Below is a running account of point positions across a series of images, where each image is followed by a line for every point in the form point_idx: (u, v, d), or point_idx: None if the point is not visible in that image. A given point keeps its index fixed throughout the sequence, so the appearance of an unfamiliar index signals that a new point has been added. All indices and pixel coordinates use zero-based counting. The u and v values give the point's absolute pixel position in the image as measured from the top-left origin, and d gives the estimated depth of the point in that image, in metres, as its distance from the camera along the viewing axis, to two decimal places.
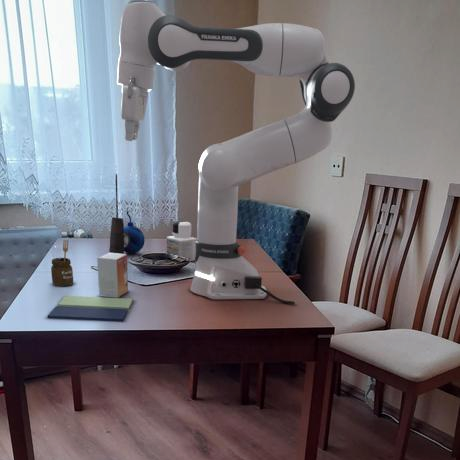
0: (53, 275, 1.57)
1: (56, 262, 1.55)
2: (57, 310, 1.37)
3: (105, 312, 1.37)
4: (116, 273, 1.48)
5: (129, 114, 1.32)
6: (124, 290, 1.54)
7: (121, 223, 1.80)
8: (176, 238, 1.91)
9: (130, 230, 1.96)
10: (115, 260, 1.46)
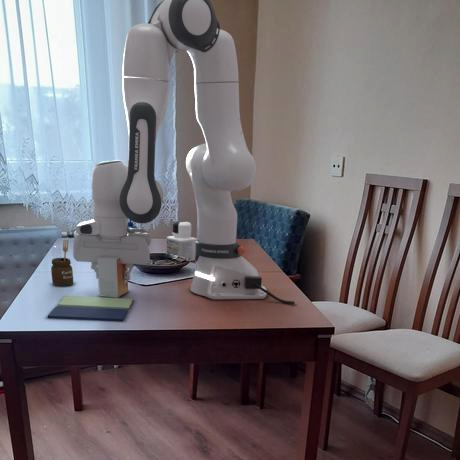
0: (53, 275, 1.57)
1: (56, 262, 1.55)
2: (57, 310, 1.37)
3: (105, 312, 1.37)
4: (116, 273, 1.48)
5: (149, 259, 1.50)
6: (124, 290, 1.54)
7: None
8: (176, 238, 1.91)
9: None
10: (115, 260, 1.46)
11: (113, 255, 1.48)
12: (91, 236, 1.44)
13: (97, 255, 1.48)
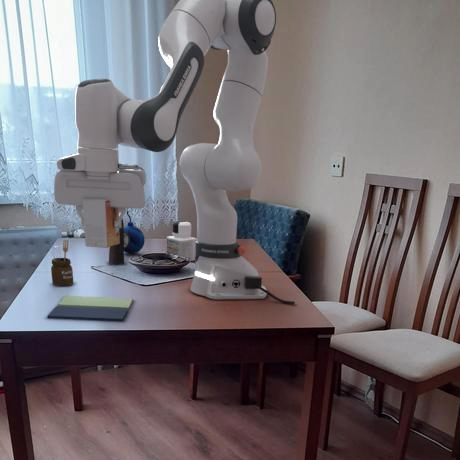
0: (53, 275, 1.57)
1: (56, 262, 1.55)
2: (57, 310, 1.37)
3: (105, 312, 1.37)
4: (105, 218, 1.25)
5: (144, 202, 1.28)
6: (115, 240, 1.32)
7: (121, 223, 1.80)
8: (176, 238, 1.91)
9: (130, 230, 1.96)
10: (103, 202, 1.23)
11: (101, 196, 1.25)
12: (75, 172, 1.22)
13: (83, 196, 1.25)
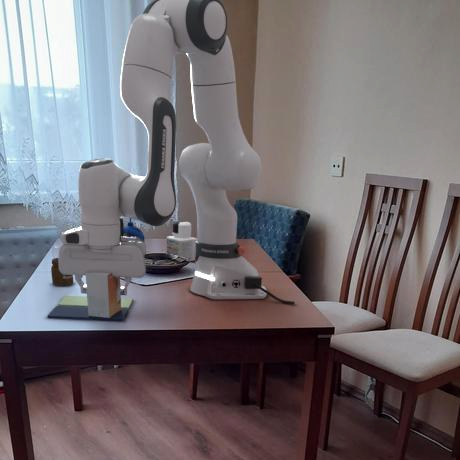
0: (53, 275, 1.57)
1: (56, 262, 1.55)
2: (57, 310, 1.37)
3: None
4: (107, 290, 1.30)
5: (145, 271, 1.33)
6: (116, 308, 1.37)
7: (121, 223, 1.80)
8: (176, 238, 1.91)
9: (130, 230, 1.96)
10: (106, 276, 1.29)
11: (104, 267, 1.30)
12: (78, 246, 1.27)
13: (86, 267, 1.30)
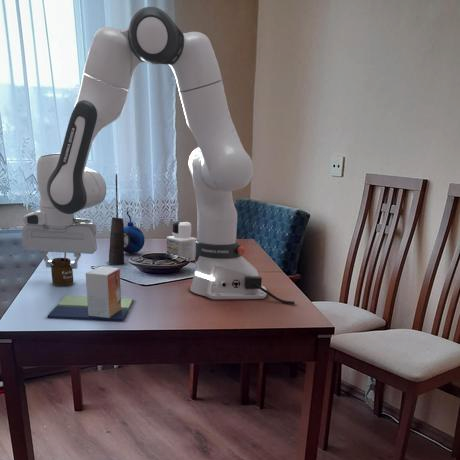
0: (53, 275, 1.57)
1: (56, 262, 1.55)
2: (57, 310, 1.37)
3: None
4: (107, 290, 1.30)
5: (96, 248, 1.57)
6: (116, 308, 1.37)
7: (121, 223, 1.80)
8: (176, 238, 1.91)
9: (130, 230, 1.96)
10: (106, 276, 1.29)
11: (60, 244, 1.54)
12: (38, 226, 1.51)
13: (45, 244, 1.54)
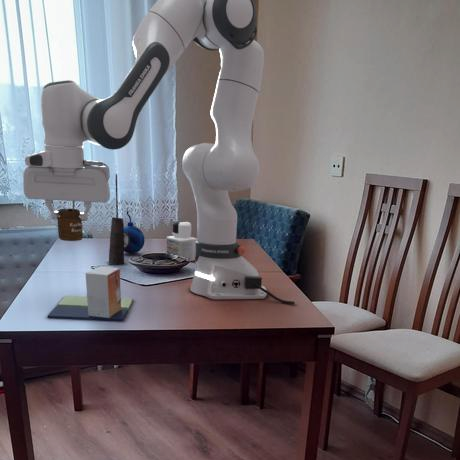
0: (60, 228, 1.36)
1: (63, 212, 1.34)
2: (57, 310, 1.37)
3: None
4: (107, 290, 1.30)
5: (109, 196, 1.36)
6: (116, 308, 1.37)
7: (121, 223, 1.80)
8: (176, 238, 1.91)
9: (130, 230, 1.96)
10: (106, 276, 1.29)
11: (68, 191, 1.33)
12: (42, 168, 1.30)
13: (50, 191, 1.33)
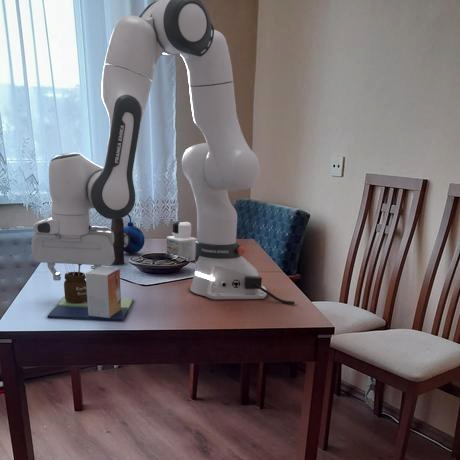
0: (66, 291, 1.41)
1: (70, 277, 1.39)
2: (57, 310, 1.37)
3: None
4: (107, 290, 1.30)
5: (114, 259, 1.41)
6: (116, 308, 1.37)
7: (121, 223, 1.80)
8: (176, 238, 1.91)
9: (130, 230, 1.96)
10: (106, 276, 1.29)
11: (74, 255, 1.38)
12: (50, 235, 1.35)
13: (57, 255, 1.38)
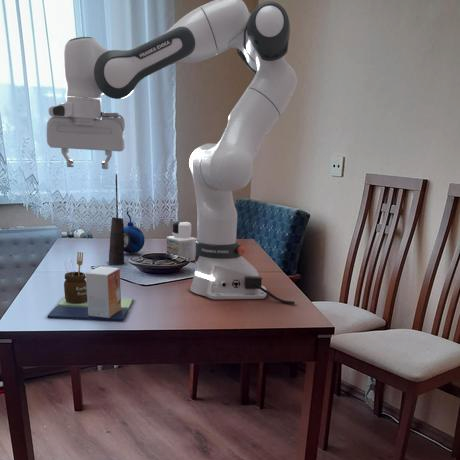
0: (66, 291, 1.41)
1: (70, 277, 1.39)
2: (57, 310, 1.37)
3: None
4: (107, 290, 1.30)
5: (124, 146, 1.49)
6: (116, 308, 1.37)
7: (121, 223, 1.80)
8: (176, 238, 1.91)
9: (130, 230, 1.96)
10: (106, 276, 1.29)
11: (87, 140, 1.47)
12: (64, 119, 1.43)
13: (71, 140, 1.47)
